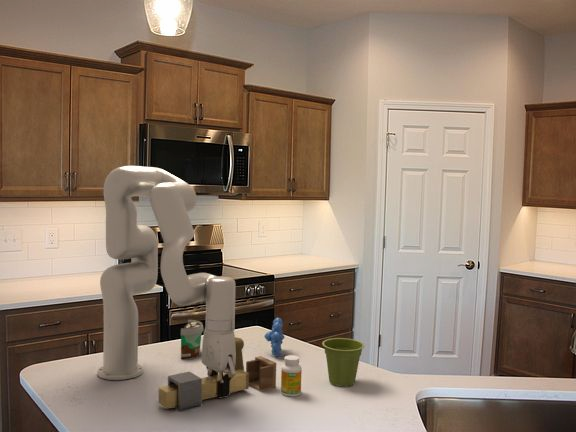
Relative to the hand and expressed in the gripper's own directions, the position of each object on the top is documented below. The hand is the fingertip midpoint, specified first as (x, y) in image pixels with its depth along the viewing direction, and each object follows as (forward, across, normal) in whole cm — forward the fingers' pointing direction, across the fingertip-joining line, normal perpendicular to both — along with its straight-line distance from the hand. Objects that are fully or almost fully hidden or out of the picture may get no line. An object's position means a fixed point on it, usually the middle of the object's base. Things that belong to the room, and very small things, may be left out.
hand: (218, 393), depth 148 cm
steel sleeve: (+1, 0, -10) cm, 10 cm away
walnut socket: (+1, 0, +14) cm, 14 cm away
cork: (+1, -11, +12) cm, 16 cm away
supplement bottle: (+1, +9, +17) cm, 19 cm away
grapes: (+1, -21, +34) cm, 40 cm away
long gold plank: (+1, 0, -4) cm, 4 cm away
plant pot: (+1, +11, +34) cm, 36 cm away
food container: (+1, -35, +12) cm, 37 cm away
